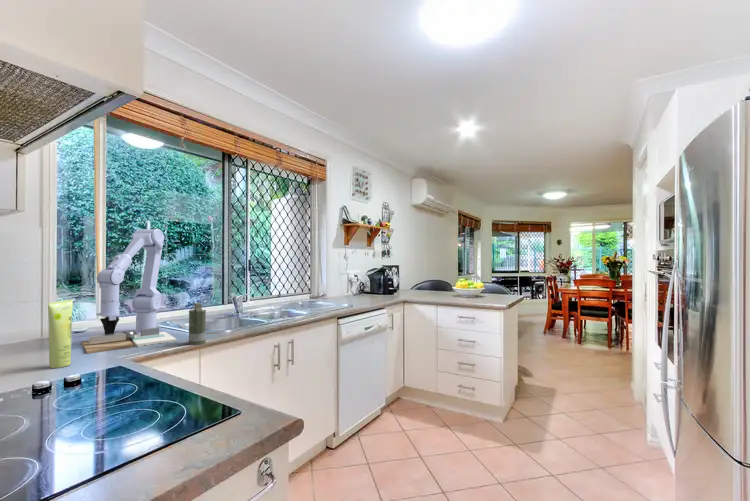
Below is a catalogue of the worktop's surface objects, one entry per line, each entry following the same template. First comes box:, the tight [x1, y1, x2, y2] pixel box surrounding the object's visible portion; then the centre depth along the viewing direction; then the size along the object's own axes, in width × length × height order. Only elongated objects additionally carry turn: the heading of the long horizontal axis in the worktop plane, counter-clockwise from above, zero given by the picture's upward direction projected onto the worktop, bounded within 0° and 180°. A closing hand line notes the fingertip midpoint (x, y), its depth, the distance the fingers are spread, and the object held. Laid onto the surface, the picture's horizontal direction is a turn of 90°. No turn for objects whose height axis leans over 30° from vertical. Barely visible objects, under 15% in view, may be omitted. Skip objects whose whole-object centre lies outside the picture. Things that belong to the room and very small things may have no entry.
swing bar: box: [88, 330, 135, 345], centre depth 138 cm, size 14×4×3 cm, turn 132°
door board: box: [131, 326, 178, 347], centre depth 146 cm, size 18×13×3 cm
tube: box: [47, 298, 74, 369], centre depth 111 cm, size 6×5×20 cm
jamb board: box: [81, 339, 135, 355], centre depth 137 cm, size 18×14×1 cm
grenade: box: [187, 302, 207, 346], centre depth 141 cm, size 6×6×15 cm
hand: (109, 337), depth 141 cm, fingers closed
